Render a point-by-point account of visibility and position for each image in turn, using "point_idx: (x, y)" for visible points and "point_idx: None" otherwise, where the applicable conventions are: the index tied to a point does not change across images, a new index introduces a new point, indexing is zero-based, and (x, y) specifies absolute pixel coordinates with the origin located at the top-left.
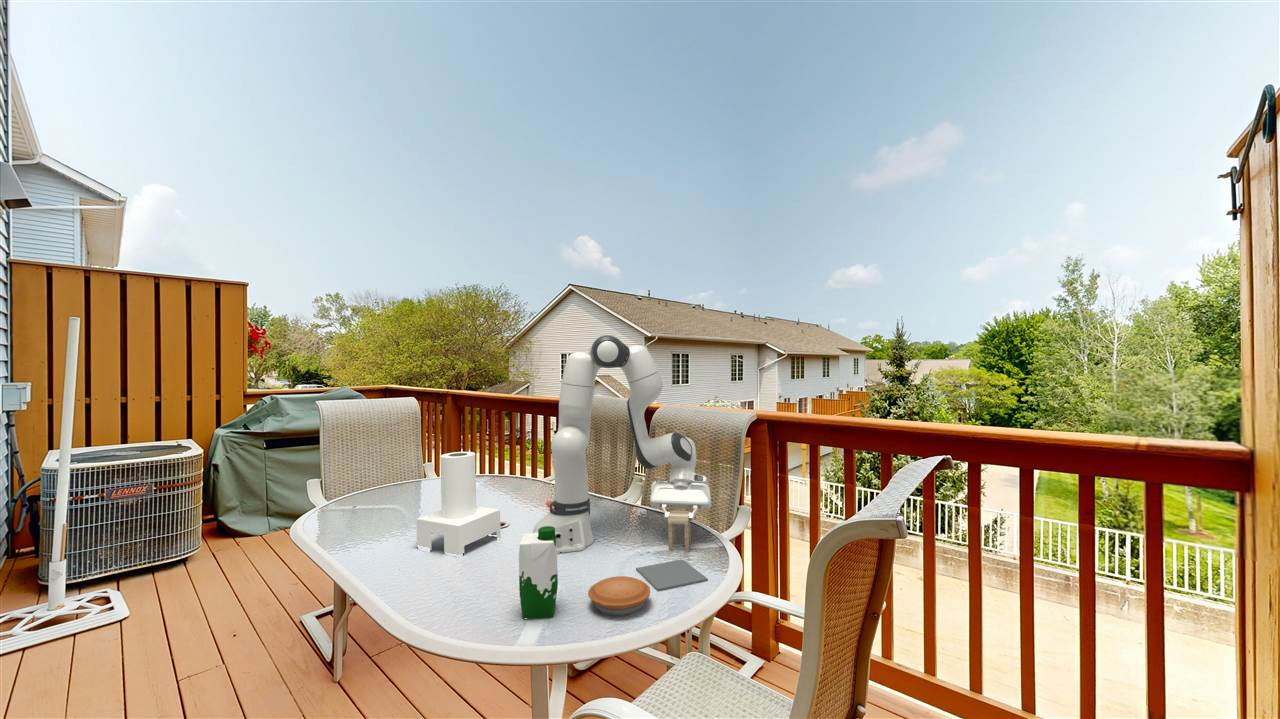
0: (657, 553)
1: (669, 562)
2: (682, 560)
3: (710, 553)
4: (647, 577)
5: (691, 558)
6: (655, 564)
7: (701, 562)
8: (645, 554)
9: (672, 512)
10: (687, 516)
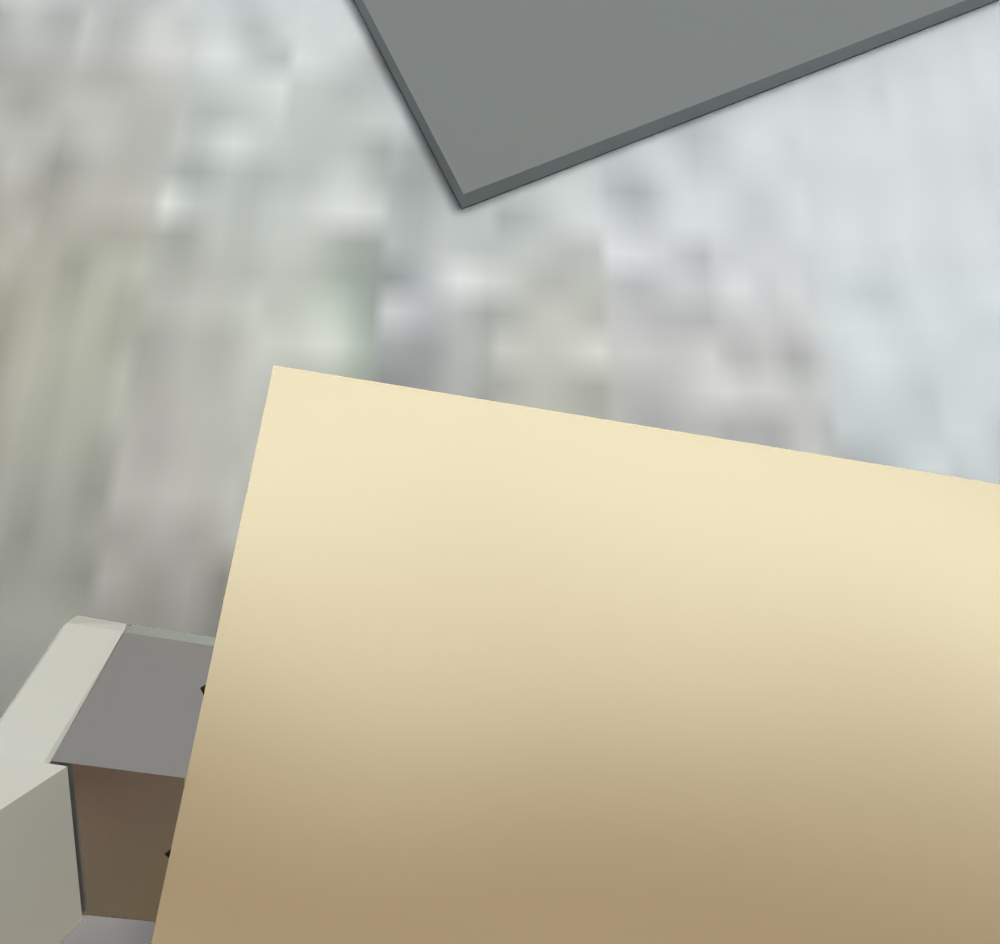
0: None
1: (637, 100)
2: (464, 151)
3: (3, 480)
4: None
5: (329, 299)
6: (808, 56)
7: (201, 163)
8: (981, 457)
9: (901, 921)
10: (295, 370)
